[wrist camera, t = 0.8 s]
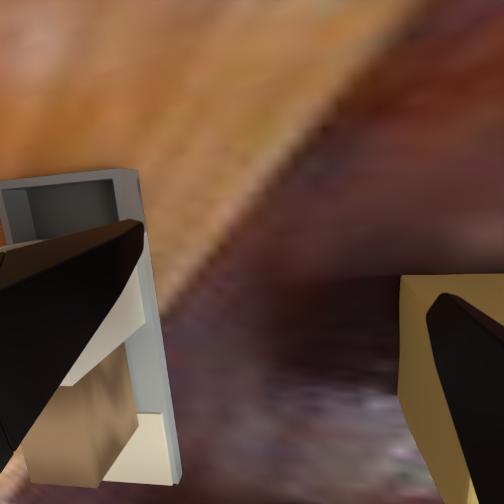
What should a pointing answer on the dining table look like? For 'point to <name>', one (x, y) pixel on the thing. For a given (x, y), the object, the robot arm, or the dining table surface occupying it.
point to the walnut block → (83, 426)
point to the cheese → (426, 378)
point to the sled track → (122, 313)
